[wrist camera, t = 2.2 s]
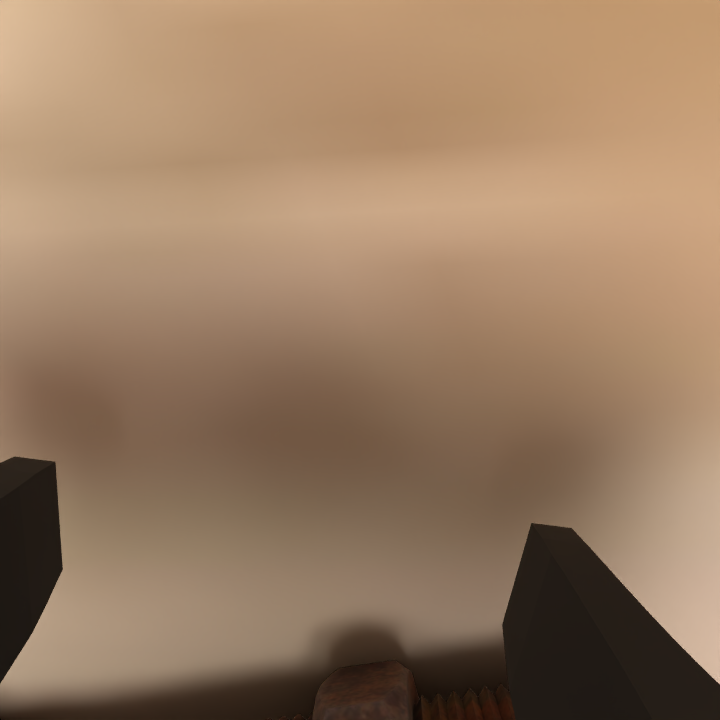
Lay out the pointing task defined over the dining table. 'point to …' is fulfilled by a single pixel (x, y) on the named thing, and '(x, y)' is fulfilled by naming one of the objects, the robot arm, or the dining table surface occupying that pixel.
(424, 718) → the bolt
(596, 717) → the robot arm
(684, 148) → the dining table surface
